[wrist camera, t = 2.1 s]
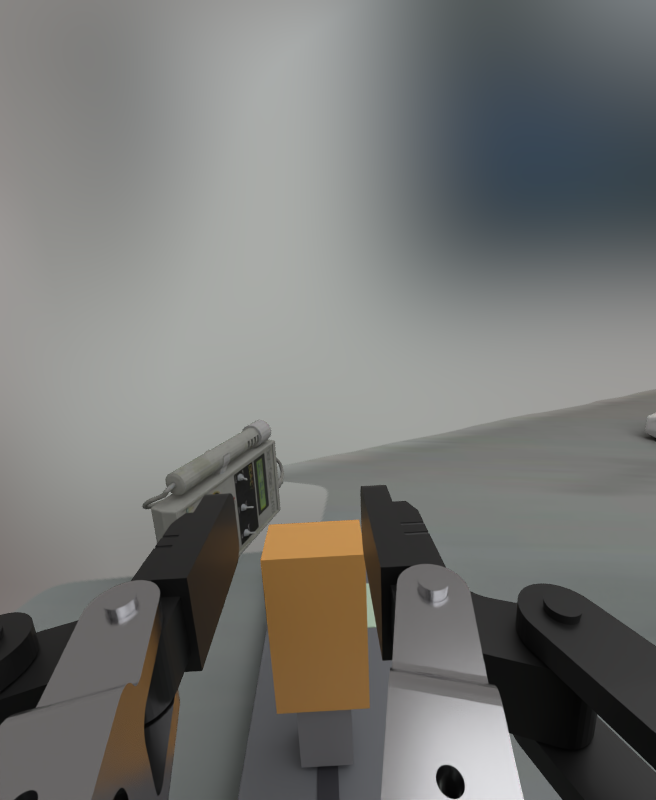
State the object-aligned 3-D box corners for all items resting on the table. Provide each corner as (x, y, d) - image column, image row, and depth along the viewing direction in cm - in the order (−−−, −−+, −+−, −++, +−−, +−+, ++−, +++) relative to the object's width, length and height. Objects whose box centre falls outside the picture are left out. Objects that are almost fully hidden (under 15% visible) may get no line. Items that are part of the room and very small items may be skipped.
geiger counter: (178, 483, 32) (296, 408, 55) (123, 475, 34) (258, 407, 57) (198, 615, 36) (301, 493, 58) (147, 600, 38) (266, 488, 60)
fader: (371, 769, 21) (365, 554, 18) (283, 775, 21) (260, 560, 18) (365, 713, 24) (358, 519, 20) (288, 718, 24) (269, 524, 20)
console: (446, 959, 16) (448, 915, 15) (218, 974, 16) (209, 930, 15) (369, 563, 41) (369, 540, 41) (280, 568, 41) (278, 545, 41)
